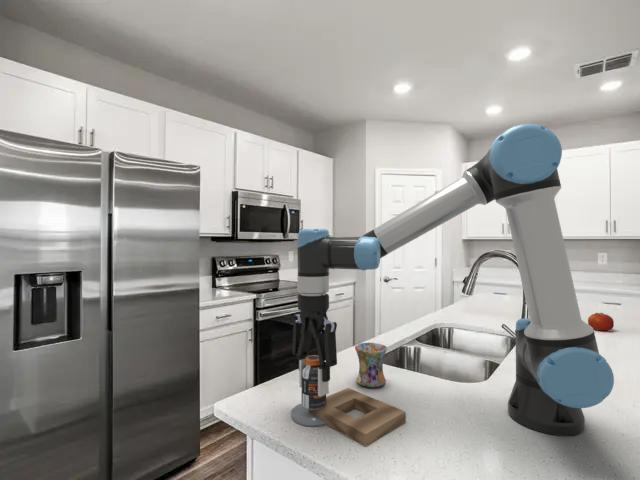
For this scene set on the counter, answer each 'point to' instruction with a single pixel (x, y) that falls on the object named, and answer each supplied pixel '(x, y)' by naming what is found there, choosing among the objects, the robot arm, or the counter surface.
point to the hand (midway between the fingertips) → (313, 389)
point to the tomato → (601, 321)
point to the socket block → (365, 427)
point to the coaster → (306, 417)
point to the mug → (371, 364)
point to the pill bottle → (311, 384)
